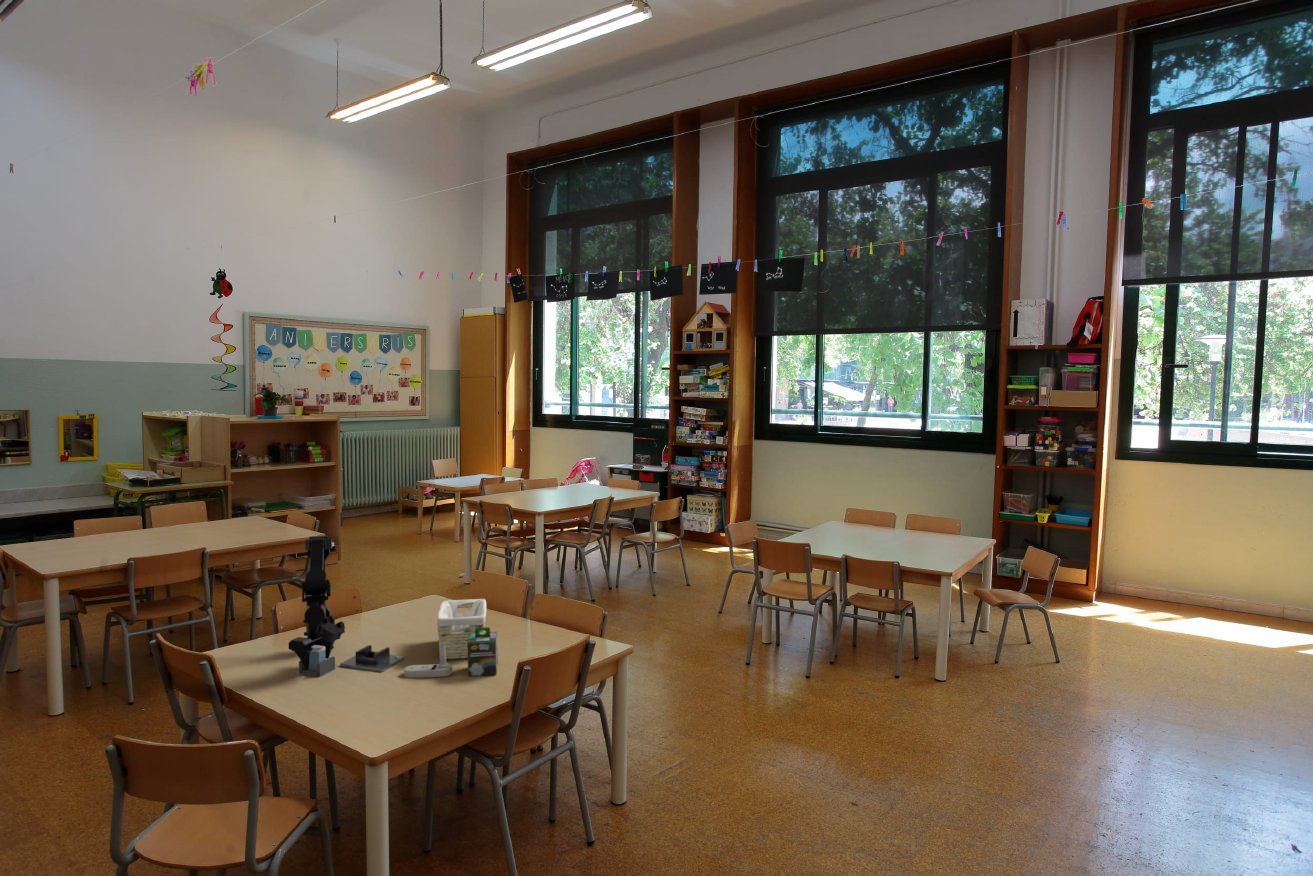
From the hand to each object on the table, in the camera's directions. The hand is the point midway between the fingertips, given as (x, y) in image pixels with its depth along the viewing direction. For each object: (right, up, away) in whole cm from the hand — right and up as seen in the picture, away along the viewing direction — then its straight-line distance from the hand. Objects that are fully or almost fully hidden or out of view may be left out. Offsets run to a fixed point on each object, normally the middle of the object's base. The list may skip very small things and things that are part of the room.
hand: (317, 663), depth 248 cm
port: (+15, -2, +8) cm, 17 cm away
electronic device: (+36, -4, -1) cm, 36 cm away
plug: (0, -3, 0) cm, 3 cm away
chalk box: (+53, -4, +2) cm, 53 cm away
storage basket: (+41, -2, +23) cm, 47 cm away
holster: (0, -3, 0) cm, 3 cm away
